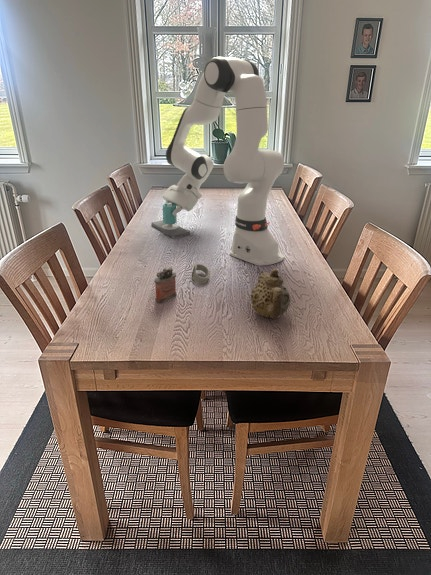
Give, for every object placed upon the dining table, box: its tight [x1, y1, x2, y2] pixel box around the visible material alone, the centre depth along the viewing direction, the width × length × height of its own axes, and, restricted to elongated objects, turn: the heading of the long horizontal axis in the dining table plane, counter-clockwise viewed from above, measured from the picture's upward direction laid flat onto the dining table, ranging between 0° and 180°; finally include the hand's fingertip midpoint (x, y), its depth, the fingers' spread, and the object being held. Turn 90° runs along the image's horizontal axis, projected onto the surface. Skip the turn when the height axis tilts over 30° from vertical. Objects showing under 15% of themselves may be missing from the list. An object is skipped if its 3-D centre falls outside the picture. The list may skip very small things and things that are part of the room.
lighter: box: [154, 267, 177, 304], centre depth 127 cm, size 8×3×10 cm, turn 141°
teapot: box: [250, 268, 292, 320], centre depth 119 cm, size 21×12×15 cm, turn 4°
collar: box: [162, 202, 178, 224], centre depth 182 cm, size 6×6×8 cm
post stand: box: [150, 203, 191, 239], centre depth 183 cm, size 20×8×13 cm, turn 37°
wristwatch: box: [191, 263, 211, 285], centre depth 142 cm, size 9×6×5 cm
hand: (168, 212), depth 182 cm, fingers closed on collar, 6 cm apart
